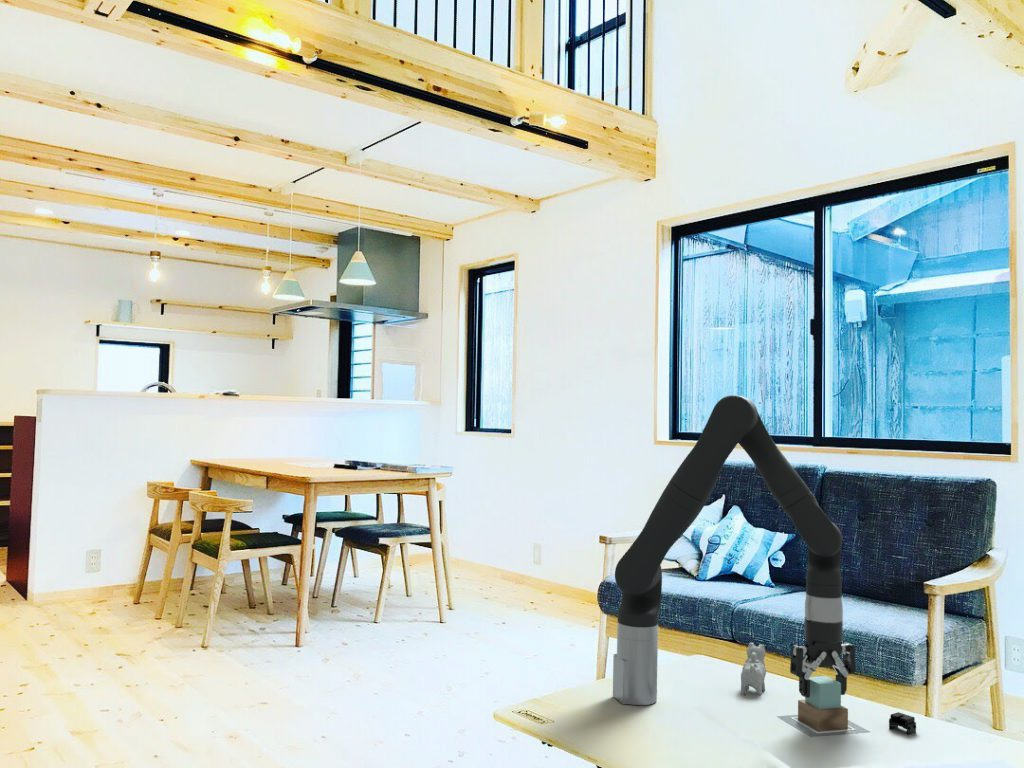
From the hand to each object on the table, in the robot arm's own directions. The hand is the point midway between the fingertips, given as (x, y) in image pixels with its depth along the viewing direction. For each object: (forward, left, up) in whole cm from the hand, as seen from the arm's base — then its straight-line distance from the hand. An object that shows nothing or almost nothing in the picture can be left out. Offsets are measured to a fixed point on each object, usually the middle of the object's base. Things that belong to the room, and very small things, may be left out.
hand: (822, 695), depth 175 cm
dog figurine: (-1, +25, -7) cm, 26 cm away
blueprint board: (0, 0, -7) cm, 7 cm away
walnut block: (0, 0, -6) cm, 6 cm away
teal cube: (0, 0, -2) cm, 2 cm away
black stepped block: (+14, -7, -8) cm, 17 cm away
